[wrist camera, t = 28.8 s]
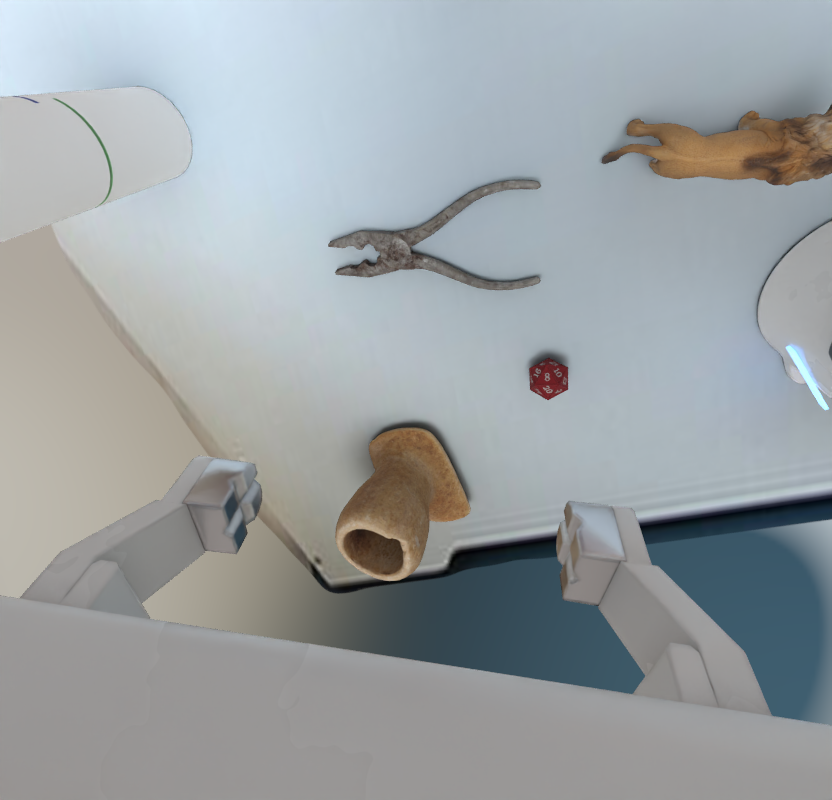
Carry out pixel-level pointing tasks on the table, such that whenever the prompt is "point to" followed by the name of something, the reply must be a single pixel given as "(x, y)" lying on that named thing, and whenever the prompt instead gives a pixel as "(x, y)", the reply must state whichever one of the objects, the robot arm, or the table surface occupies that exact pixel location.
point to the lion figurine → (740, 149)
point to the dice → (548, 378)
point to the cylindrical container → (84, 152)
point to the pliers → (399, 243)
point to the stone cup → (399, 504)
